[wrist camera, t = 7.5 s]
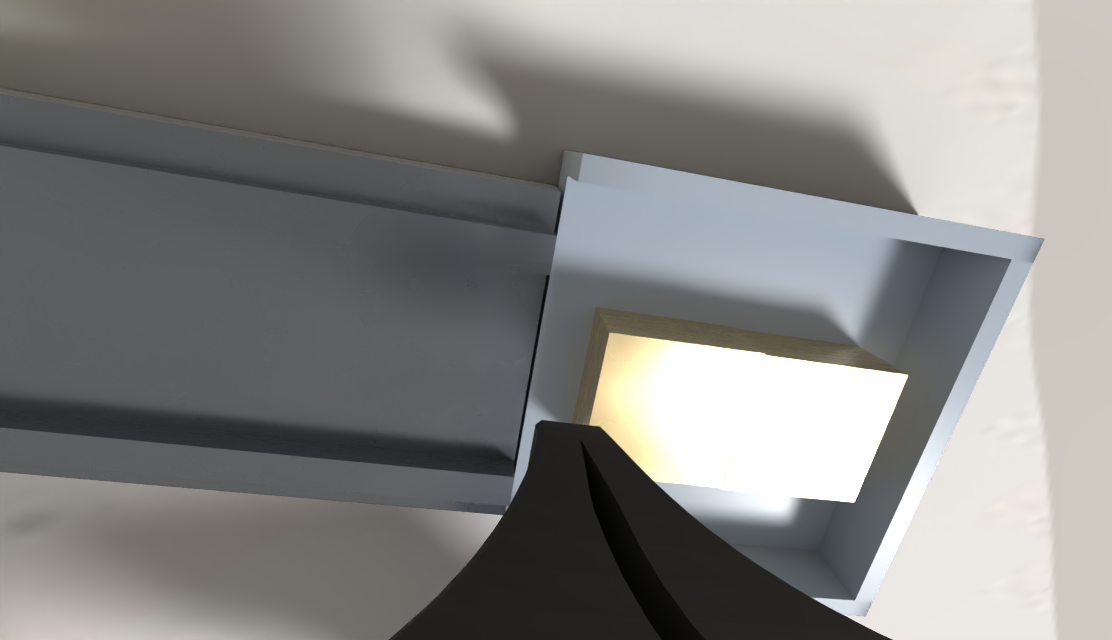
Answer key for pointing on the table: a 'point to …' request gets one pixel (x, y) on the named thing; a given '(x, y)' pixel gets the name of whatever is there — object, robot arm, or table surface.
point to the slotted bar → (261, 311)
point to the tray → (784, 309)
